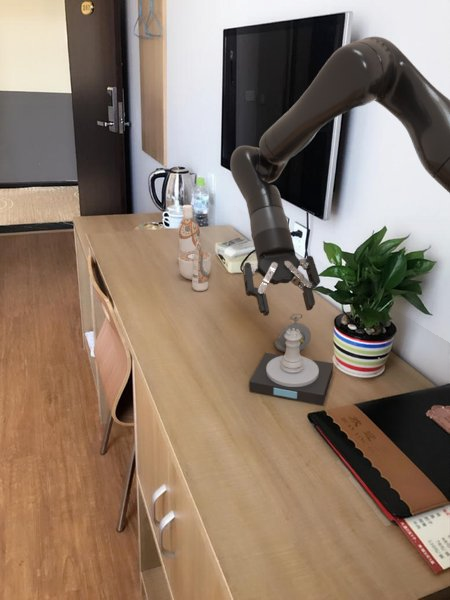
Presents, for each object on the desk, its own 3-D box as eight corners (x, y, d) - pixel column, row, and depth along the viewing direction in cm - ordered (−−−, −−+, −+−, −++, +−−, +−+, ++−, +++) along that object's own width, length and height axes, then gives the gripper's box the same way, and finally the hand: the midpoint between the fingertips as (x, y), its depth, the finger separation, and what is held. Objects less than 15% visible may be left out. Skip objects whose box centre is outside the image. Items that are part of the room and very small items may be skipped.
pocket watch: (288, 336, 114) (289, 296, 110) (318, 349, 108) (320, 308, 104) (263, 349, 109) (263, 308, 105) (293, 364, 104) (294, 321, 99)
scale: (332, 373, 100) (333, 359, 99) (322, 406, 91) (323, 391, 89) (264, 362, 105) (265, 348, 103) (248, 392, 95) (248, 378, 94)
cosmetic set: (219, 292, 137) (216, 225, 129) (185, 295, 136) (180, 228, 127) (204, 260, 159) (201, 201, 151) (175, 263, 158) (170, 204, 150)
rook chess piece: (277, 372, 95) (278, 335, 92) (283, 360, 99) (284, 324, 96) (300, 376, 94) (302, 339, 90) (306, 364, 98) (307, 327, 94)
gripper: (239, 229, 95) (255, 310, 90) (310, 222, 97) (330, 300, 92) (233, 247, 102) (248, 322, 96) (300, 240, 104) (318, 313, 99)
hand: (288, 311), depth 94 cm, fingers open, 8 cm apart
